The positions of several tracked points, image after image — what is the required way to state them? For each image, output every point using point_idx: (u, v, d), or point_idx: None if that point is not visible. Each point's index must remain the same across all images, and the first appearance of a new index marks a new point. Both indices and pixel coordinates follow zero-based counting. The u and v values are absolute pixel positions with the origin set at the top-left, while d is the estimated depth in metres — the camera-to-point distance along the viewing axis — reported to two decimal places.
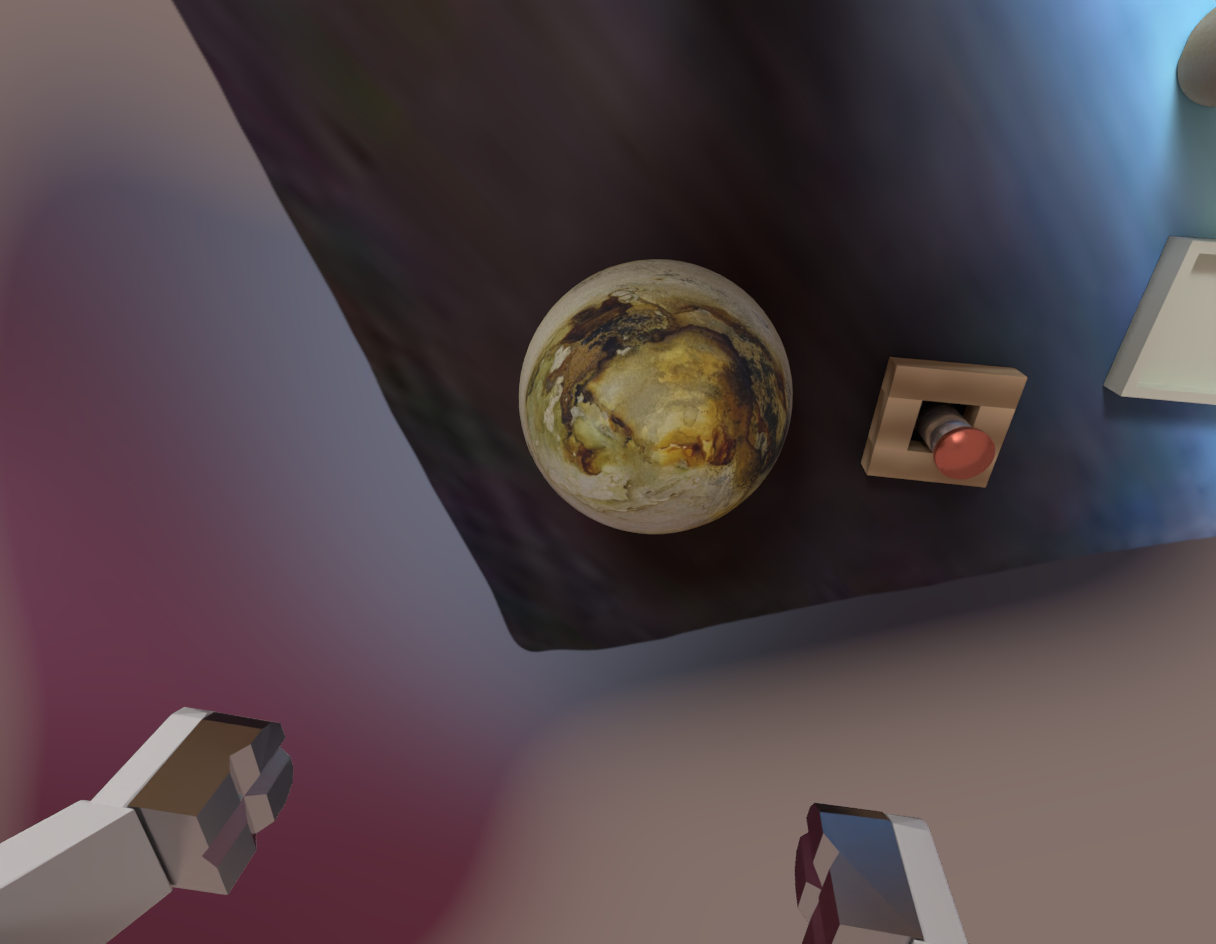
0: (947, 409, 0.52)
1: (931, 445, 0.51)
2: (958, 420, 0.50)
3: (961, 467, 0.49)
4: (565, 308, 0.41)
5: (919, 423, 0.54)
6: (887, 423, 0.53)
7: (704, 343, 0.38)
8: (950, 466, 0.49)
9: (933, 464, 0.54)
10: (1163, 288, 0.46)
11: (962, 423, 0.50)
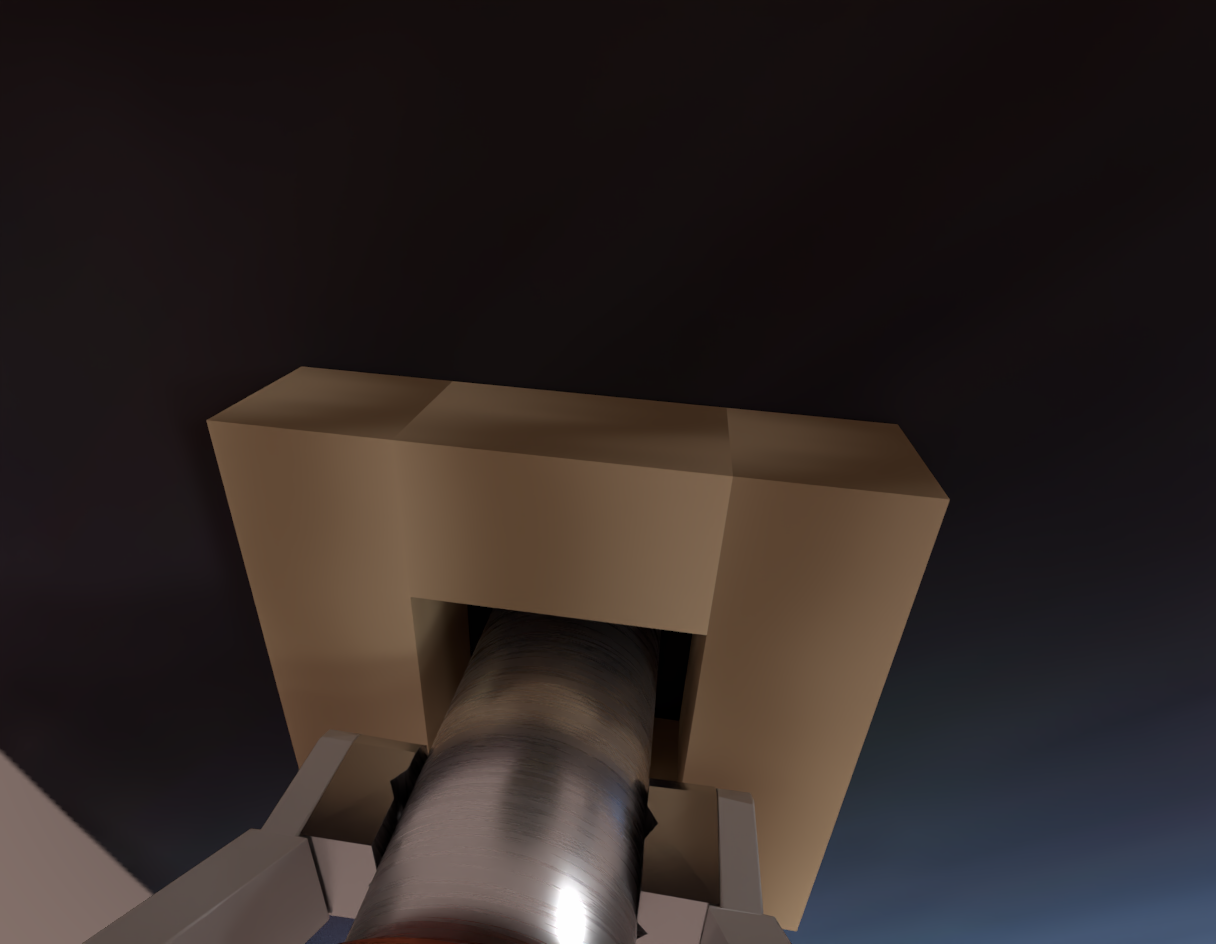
0: (652, 728, 0.11)
1: (469, 802, 0.08)
2: None
3: None
4: None
5: None
6: (555, 491, 0.09)
7: None
8: None
9: (366, 700, 0.11)
10: None
11: (637, 923, 0.08)
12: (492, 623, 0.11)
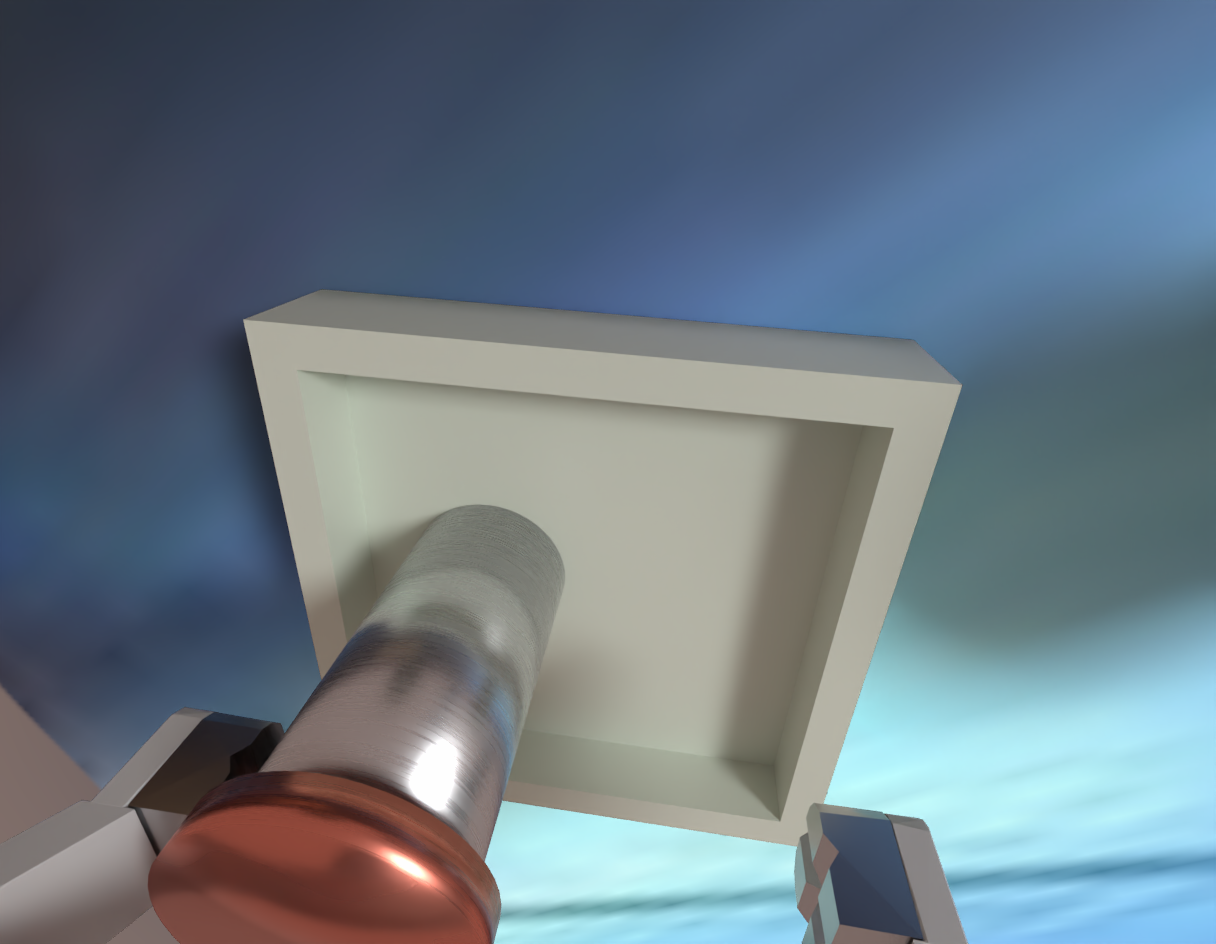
0: (542, 649, 0.12)
1: (353, 687, 0.09)
2: (513, 756, 0.10)
3: (235, 926, 0.08)
4: None
5: (462, 551, 0.12)
6: None
7: None
8: (219, 888, 0.07)
9: None
10: (732, 351, 0.10)
11: (502, 795, 0.10)
12: (404, 561, 0.13)
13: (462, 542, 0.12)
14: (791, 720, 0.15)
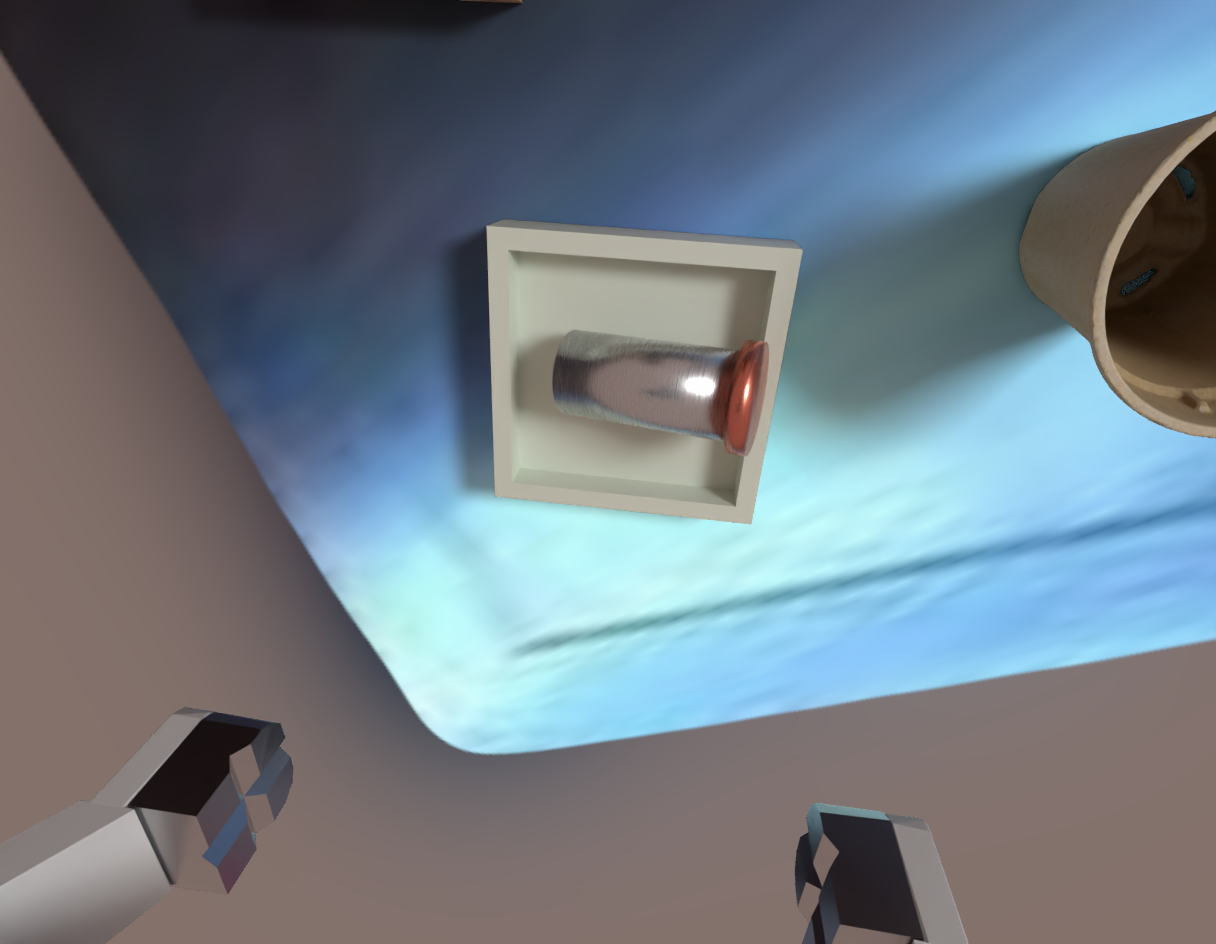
0: None
1: (694, 351, 0.23)
2: None
3: (751, 410, 0.22)
4: None
5: (611, 336, 0.24)
6: None
7: None
8: (754, 388, 0.22)
9: None
10: (706, 239, 0.24)
11: None
12: (591, 358, 0.24)
13: (603, 335, 0.24)
14: None
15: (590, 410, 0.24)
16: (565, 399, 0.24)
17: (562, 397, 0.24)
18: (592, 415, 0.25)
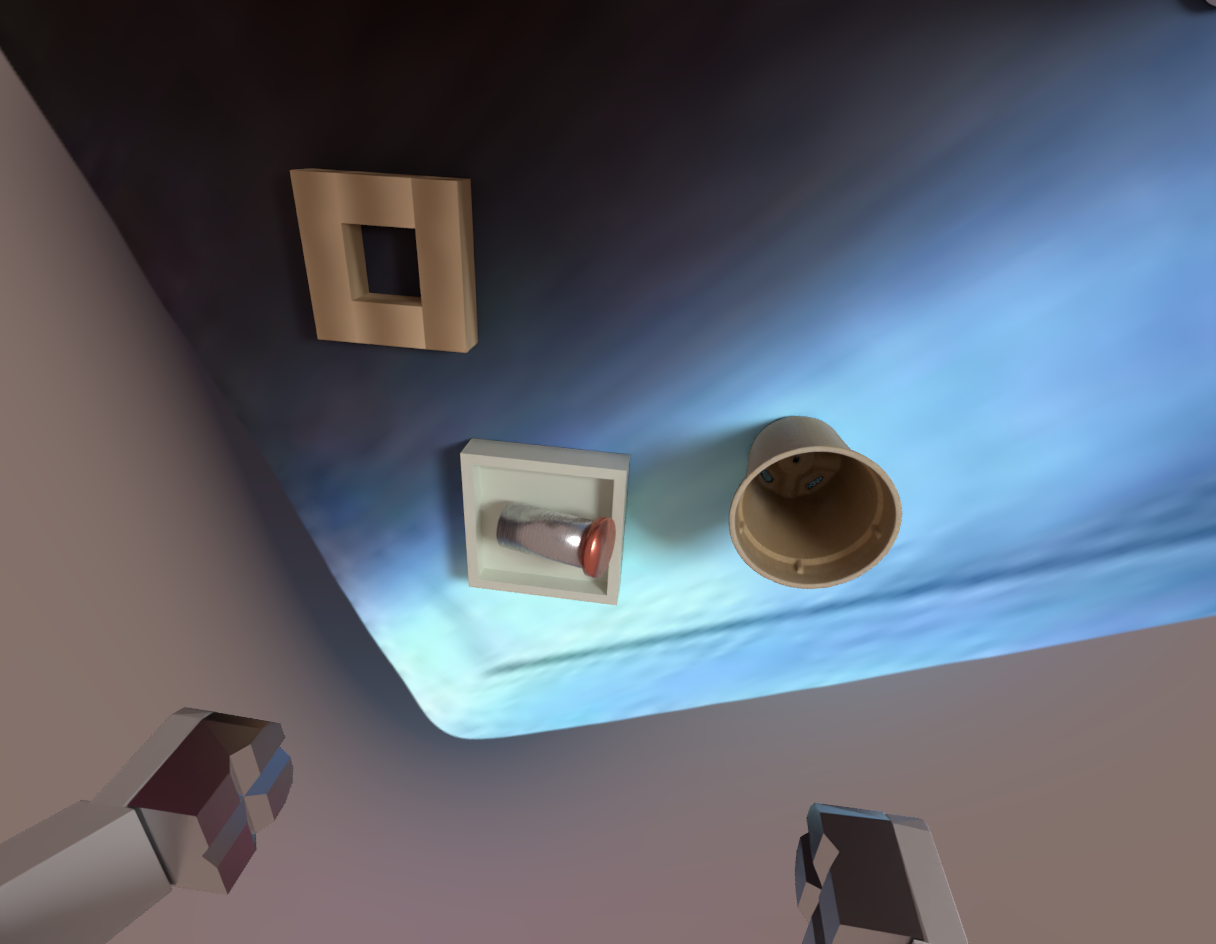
0: None
1: (569, 523, 0.43)
2: None
3: (597, 557, 0.43)
4: None
5: (528, 509, 0.45)
6: (373, 185, 0.36)
7: None
8: (598, 546, 0.42)
9: (330, 264, 0.39)
10: (578, 461, 0.44)
11: None
12: (516, 524, 0.44)
13: (524, 509, 0.45)
14: None
15: (517, 549, 0.45)
16: (504, 543, 0.45)
17: (502, 542, 0.45)
18: (519, 551, 0.45)
